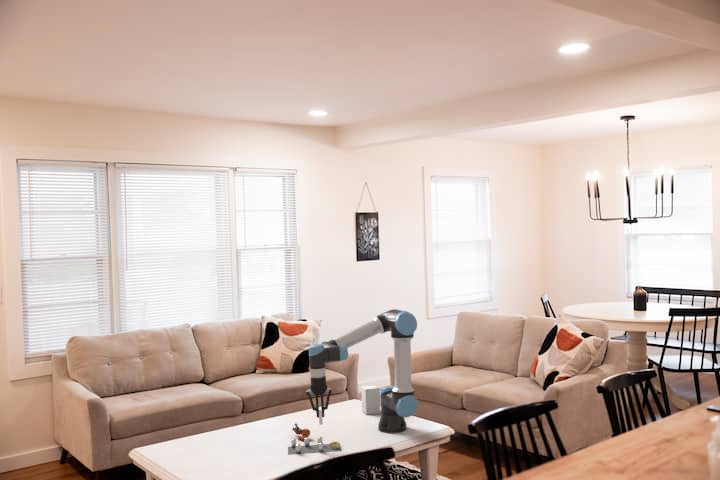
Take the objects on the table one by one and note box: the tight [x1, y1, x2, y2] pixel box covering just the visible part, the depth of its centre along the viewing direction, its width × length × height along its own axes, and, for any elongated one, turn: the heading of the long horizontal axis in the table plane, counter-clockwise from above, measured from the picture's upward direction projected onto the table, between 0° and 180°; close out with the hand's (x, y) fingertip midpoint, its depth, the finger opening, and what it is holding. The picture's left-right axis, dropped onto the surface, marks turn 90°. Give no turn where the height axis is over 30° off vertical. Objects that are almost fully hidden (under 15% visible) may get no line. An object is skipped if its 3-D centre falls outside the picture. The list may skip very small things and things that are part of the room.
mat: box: [287, 442, 343, 456], centre depth 325 cm, size 26×12×1 cm, turn 96°
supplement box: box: [360, 384, 381, 416], centre depth 390 cm, size 9×9×15 cm
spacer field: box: [290, 436, 324, 455], centre depth 325 cm, size 15×11×4 cm
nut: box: [329, 441, 340, 449], centre depth 326 cm, size 5×4×2 cm
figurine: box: [291, 423, 311, 441], centre depth 344 cm, size 10×8×15 cm
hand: (321, 423), depth 326 cm, fingers closed
